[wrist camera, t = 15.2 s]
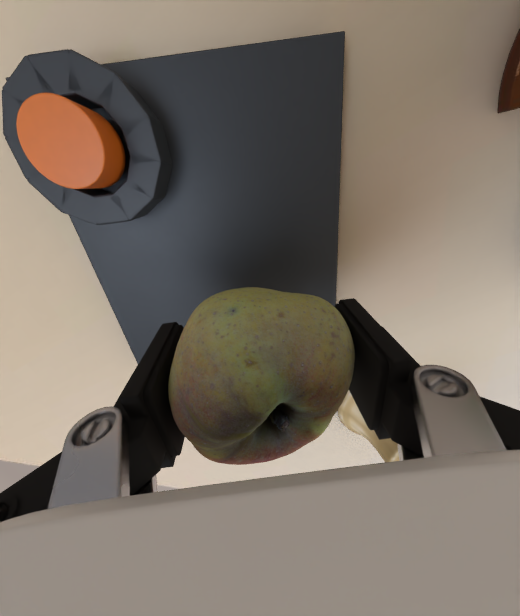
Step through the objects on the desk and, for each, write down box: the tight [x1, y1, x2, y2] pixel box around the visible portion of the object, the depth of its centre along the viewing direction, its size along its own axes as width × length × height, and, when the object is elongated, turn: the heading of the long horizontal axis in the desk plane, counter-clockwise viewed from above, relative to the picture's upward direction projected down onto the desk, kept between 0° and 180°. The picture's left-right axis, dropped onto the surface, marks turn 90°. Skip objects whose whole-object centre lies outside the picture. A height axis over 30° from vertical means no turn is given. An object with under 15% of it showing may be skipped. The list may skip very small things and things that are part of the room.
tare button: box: [16, 93, 125, 189], centre depth 9 cm, size 3×3×2 cm
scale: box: [2, 31, 345, 364], centre depth 13 cm, size 16×14×3 cm
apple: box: [168, 287, 355, 465], centre depth 9 cm, size 6×8×6 cm
